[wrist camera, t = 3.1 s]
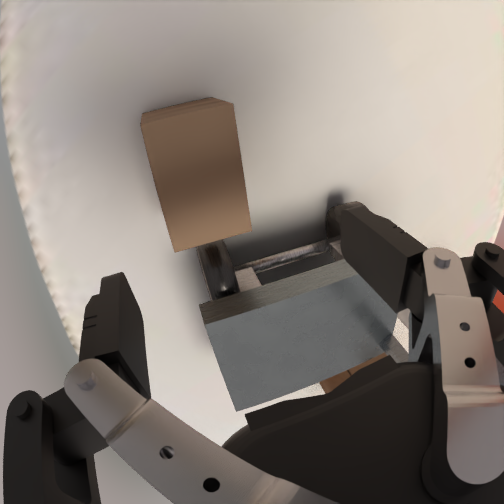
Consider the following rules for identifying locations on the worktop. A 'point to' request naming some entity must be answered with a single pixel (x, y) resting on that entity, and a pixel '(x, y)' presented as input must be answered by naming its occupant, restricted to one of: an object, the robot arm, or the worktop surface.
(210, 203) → the block
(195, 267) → the worktop surface
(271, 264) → the trolley
